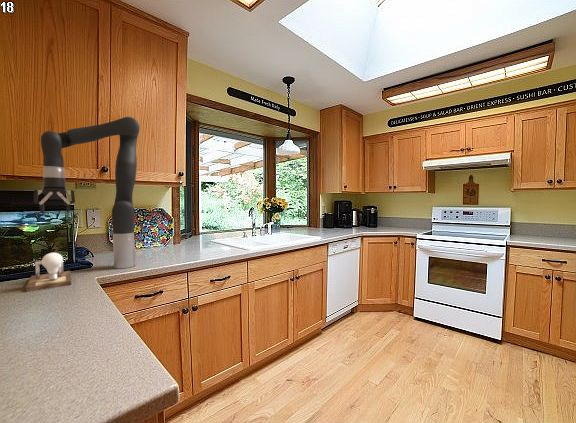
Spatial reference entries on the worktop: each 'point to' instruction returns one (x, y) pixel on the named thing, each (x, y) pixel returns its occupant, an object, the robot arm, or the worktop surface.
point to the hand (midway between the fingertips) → (55, 212)
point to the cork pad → (50, 281)
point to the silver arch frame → (39, 269)
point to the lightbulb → (52, 264)
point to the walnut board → (33, 280)
